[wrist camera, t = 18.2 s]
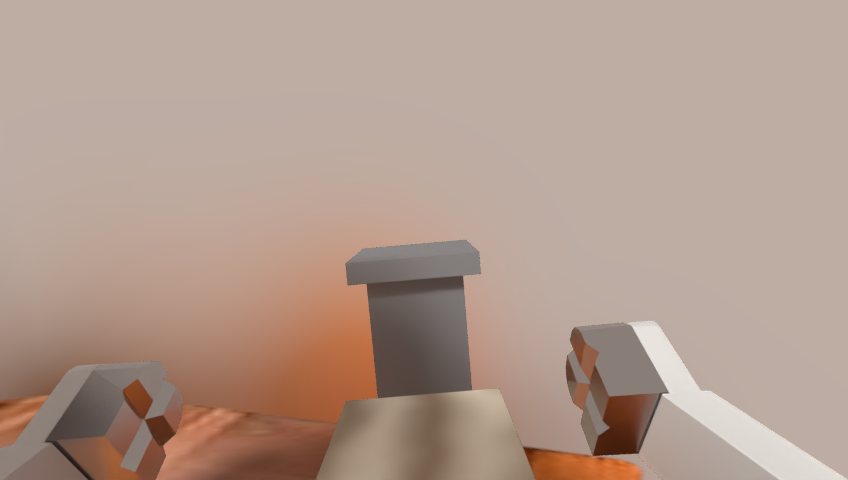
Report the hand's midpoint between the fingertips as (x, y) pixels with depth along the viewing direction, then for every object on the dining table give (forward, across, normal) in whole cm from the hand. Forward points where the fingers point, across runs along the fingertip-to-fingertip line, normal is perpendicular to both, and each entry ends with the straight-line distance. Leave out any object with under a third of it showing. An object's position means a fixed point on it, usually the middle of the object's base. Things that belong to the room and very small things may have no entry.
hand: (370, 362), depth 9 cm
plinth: (+16, 0, +46) cm, 49 cm away
